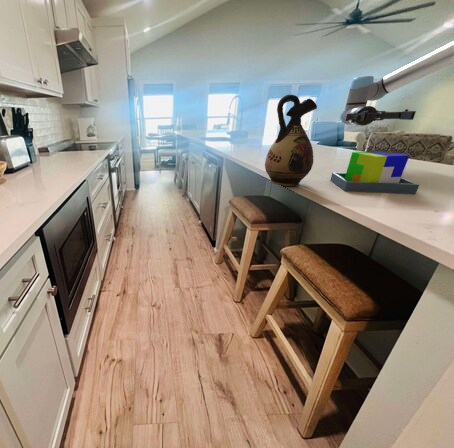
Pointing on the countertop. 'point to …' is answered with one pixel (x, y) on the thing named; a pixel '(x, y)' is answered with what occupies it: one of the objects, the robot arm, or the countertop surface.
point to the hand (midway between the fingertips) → (388, 116)
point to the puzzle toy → (376, 167)
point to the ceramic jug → (290, 145)
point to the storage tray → (375, 185)
